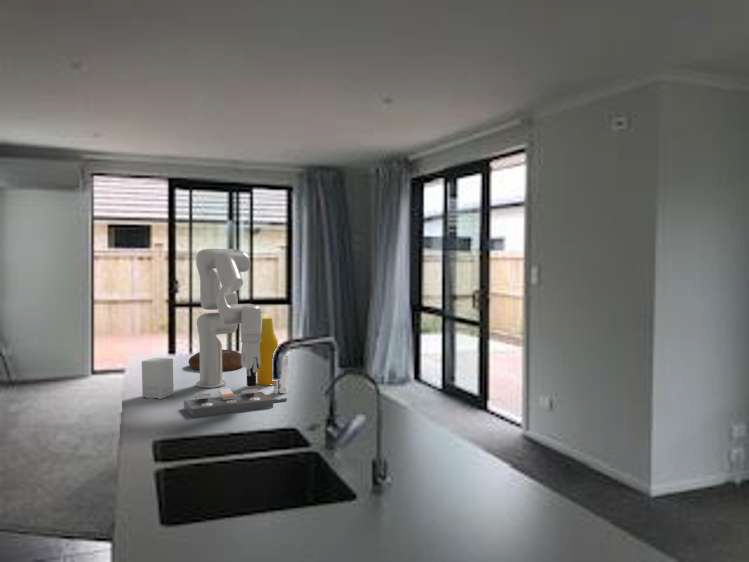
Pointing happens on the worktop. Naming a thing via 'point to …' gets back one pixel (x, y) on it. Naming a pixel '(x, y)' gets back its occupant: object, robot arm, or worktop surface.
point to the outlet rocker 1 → (226, 394)
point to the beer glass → (282, 378)
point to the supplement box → (157, 378)
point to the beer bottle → (266, 352)
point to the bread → (229, 360)
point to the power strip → (229, 404)
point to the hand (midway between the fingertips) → (251, 385)
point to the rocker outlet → (203, 396)
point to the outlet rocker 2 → (249, 390)
